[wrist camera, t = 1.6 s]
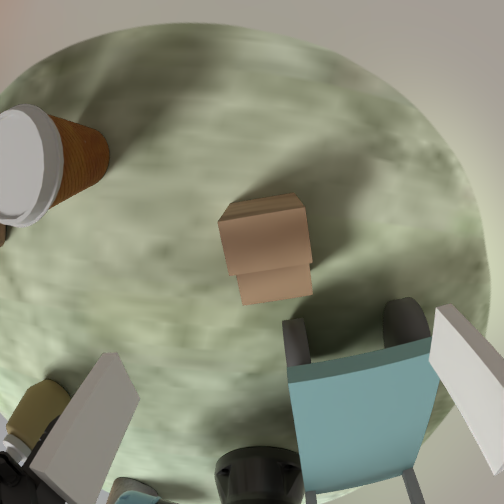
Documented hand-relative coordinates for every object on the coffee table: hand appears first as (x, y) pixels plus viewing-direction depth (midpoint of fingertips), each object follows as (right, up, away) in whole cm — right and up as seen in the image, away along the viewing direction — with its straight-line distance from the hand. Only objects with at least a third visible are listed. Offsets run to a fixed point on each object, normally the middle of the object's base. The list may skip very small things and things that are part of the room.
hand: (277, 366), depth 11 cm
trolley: (+10, -10, +23) cm, 27 cm away
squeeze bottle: (-32, -18, +27) cm, 46 cm away
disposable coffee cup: (-18, +14, +16) cm, 28 cm away
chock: (+1, +6, +18) cm, 19 cm away
